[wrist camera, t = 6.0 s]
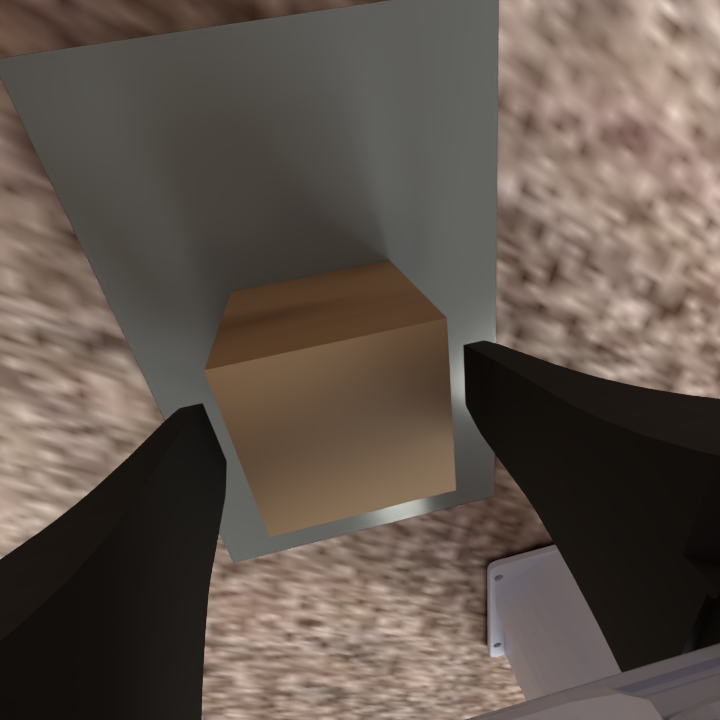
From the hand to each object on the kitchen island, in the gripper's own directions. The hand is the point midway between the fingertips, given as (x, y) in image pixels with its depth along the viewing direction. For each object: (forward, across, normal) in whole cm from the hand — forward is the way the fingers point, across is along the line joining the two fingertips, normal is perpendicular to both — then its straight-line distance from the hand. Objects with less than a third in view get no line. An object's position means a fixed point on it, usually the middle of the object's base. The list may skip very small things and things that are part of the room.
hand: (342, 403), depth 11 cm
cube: (+3, 0, 0) cm, 3 cm away
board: (+4, 0, 0) cm, 4 cm away
